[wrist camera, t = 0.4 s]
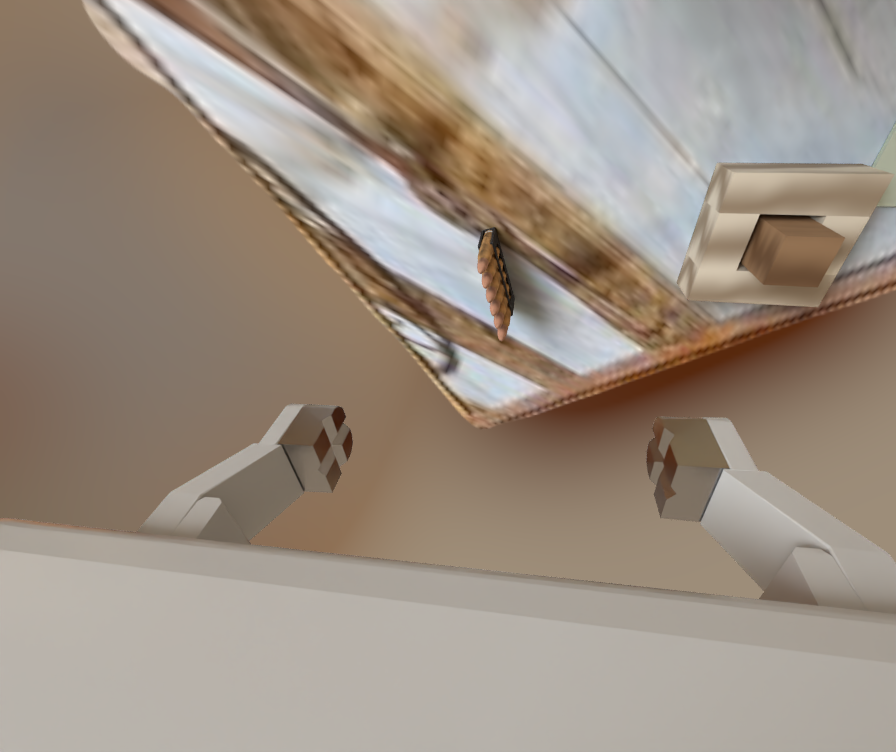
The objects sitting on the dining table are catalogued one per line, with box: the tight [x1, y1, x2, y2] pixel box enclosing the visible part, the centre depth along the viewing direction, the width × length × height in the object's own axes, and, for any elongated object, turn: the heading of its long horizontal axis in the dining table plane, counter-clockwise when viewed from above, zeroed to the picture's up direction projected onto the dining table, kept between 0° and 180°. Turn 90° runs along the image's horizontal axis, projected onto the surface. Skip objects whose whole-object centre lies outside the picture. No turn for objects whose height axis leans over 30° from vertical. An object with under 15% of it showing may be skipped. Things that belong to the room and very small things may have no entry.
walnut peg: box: [740, 214, 845, 287], centre depth 44 cm, size 5×5×10 cm
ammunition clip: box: [477, 227, 514, 341], centre depth 52 cm, size 11×2×12 cm, turn 19°
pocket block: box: [677, 163, 895, 307], centre depth 46 cm, size 14×14×5 cm
